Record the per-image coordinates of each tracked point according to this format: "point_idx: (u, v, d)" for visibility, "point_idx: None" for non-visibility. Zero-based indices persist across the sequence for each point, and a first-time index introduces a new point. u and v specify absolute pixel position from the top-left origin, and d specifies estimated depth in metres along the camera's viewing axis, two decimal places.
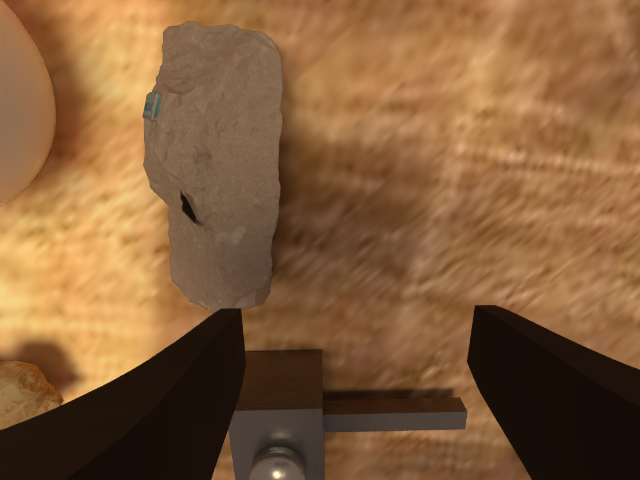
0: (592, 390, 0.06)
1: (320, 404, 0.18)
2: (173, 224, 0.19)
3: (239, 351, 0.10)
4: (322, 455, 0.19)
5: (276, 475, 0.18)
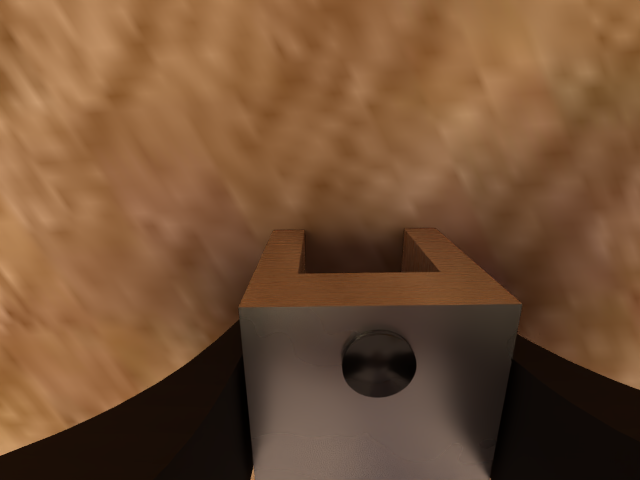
0: (540, 390, 0.06)
1: None
2: None
3: None
4: None
5: None
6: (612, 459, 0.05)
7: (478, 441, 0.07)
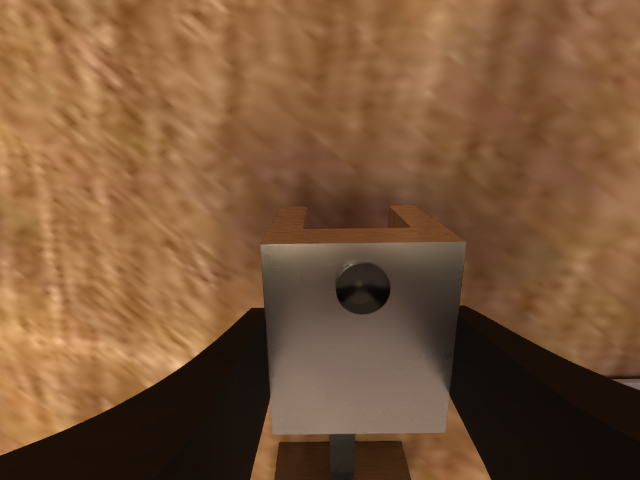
0: (540, 390, 0.06)
1: None
2: None
3: None
4: None
5: None
6: (612, 459, 0.05)
7: (440, 354, 0.10)
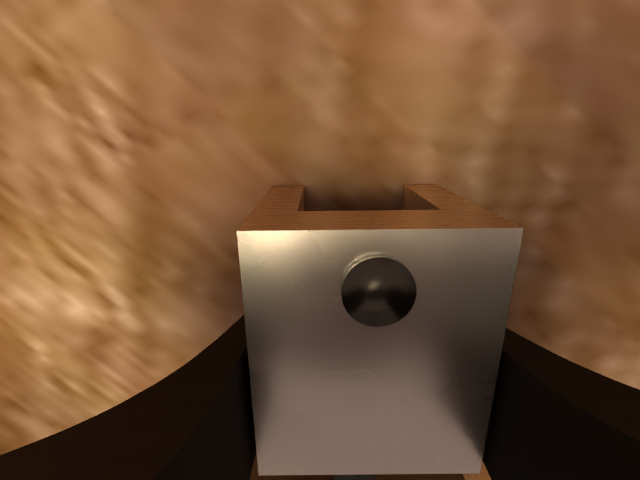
0: (540, 389, 0.06)
1: None
2: None
3: None
4: None
5: None
6: (613, 459, 0.05)
7: (478, 377, 0.07)
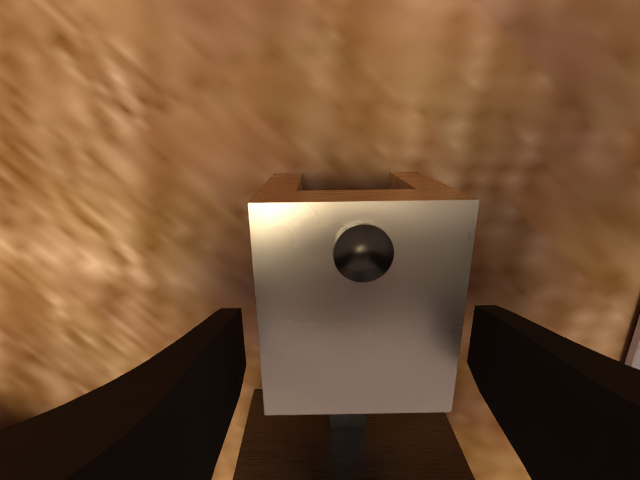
0: (592, 389, 0.06)
1: None
2: None
3: (239, 351, 0.10)
4: None
5: None
6: None
7: (447, 326, 0.09)
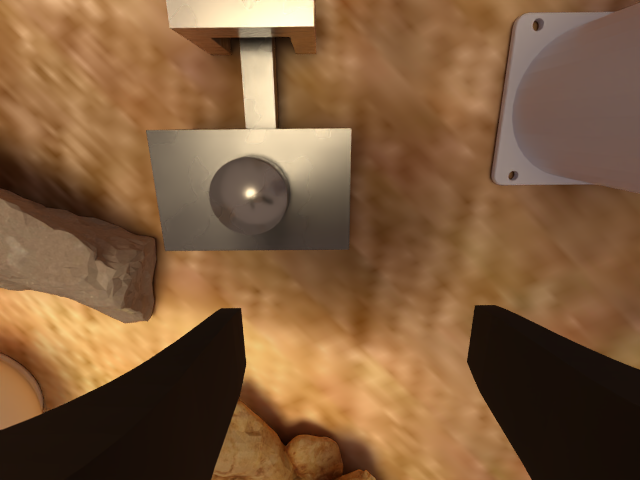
0: (591, 389, 0.06)
1: None
2: None
3: (239, 351, 0.10)
4: (228, 131, 0.14)
5: (229, 197, 0.13)
6: None
7: None
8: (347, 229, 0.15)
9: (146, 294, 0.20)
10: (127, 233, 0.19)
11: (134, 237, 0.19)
